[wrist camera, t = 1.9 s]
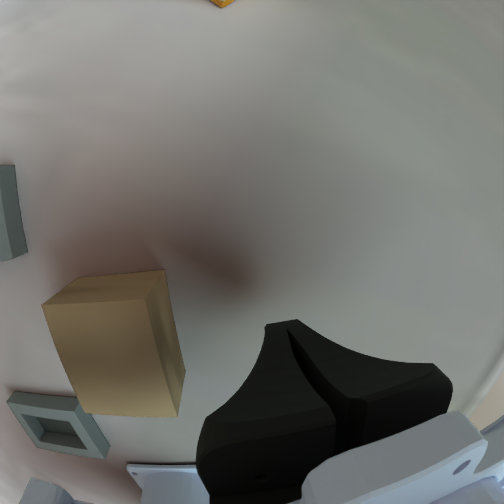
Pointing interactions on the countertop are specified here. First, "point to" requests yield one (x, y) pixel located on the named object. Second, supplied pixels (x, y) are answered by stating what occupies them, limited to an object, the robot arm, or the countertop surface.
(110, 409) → the tan block
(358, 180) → the countertop surface
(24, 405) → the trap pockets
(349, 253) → the countertop surface
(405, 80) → the countertop surface
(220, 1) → the supplement box
